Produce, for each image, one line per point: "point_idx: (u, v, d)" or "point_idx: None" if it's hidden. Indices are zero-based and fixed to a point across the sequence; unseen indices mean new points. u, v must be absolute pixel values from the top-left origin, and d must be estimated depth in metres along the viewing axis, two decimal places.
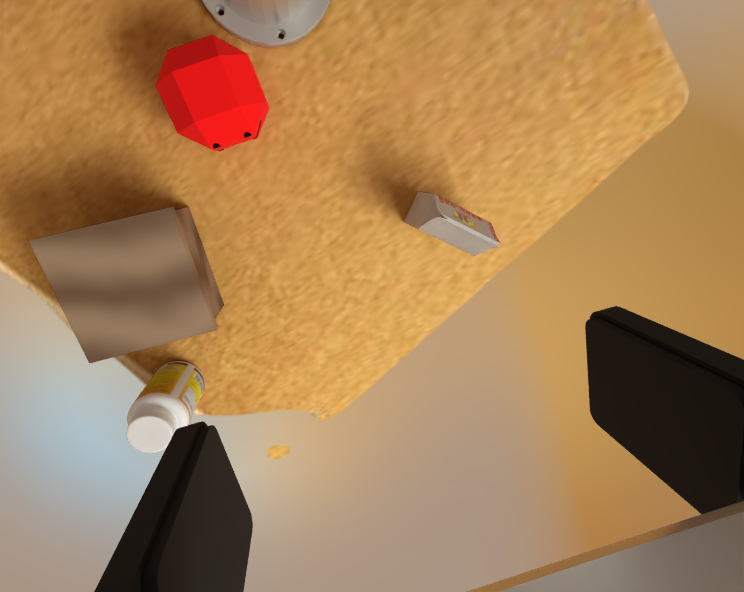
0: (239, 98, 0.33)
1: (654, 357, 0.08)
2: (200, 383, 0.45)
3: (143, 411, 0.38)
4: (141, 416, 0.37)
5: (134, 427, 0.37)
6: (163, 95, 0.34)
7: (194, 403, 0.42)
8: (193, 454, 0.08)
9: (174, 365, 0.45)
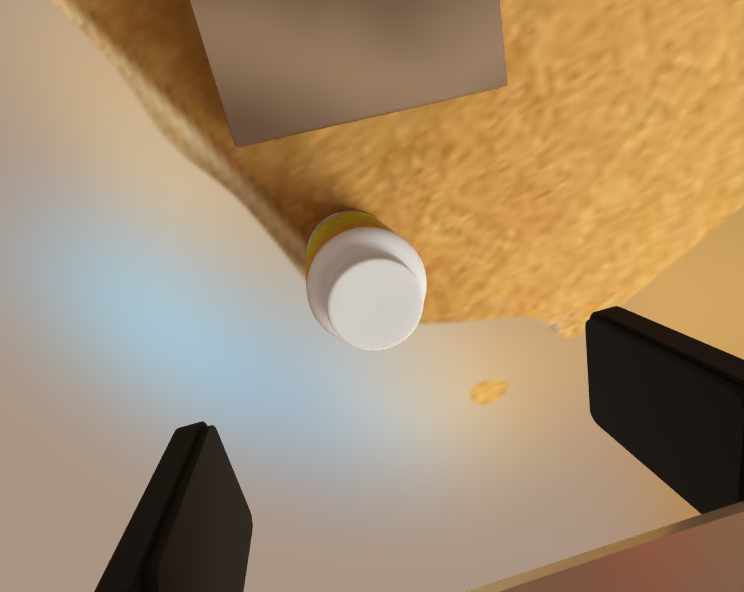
0: None
1: (654, 357, 0.08)
2: None
3: (360, 254, 0.16)
4: (365, 259, 0.16)
5: (348, 285, 0.16)
6: None
7: None
8: (193, 454, 0.08)
9: (354, 212, 0.24)
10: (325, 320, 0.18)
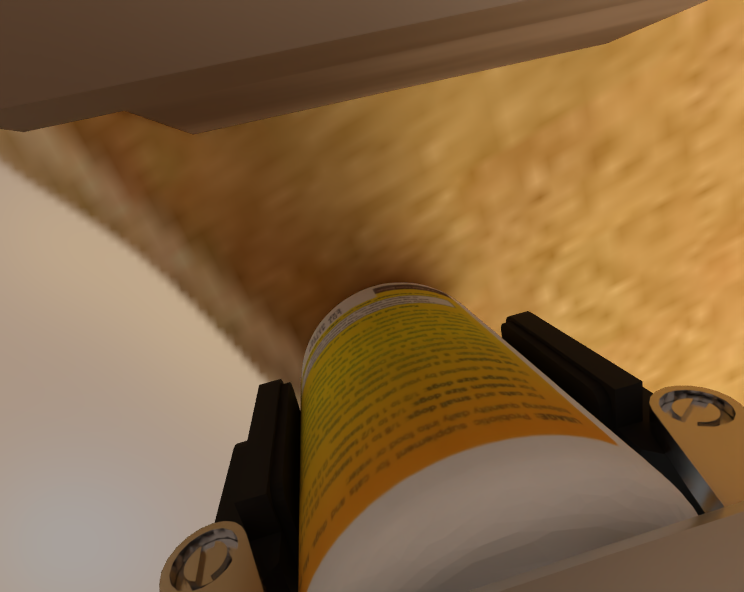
0: None
1: (544, 358, 0.09)
2: None
3: None
4: None
5: None
6: None
7: None
8: (282, 403, 0.09)
9: (412, 293, 0.10)
10: None
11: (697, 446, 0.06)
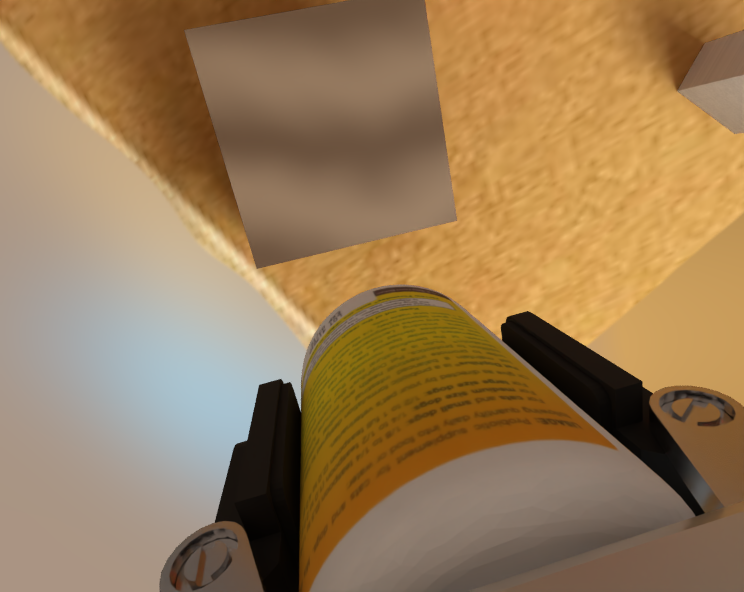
0: None
1: (544, 358, 0.09)
2: None
3: None
4: None
5: None
6: None
7: None
8: (282, 403, 0.09)
9: (412, 295, 0.10)
10: None
11: (697, 446, 0.06)
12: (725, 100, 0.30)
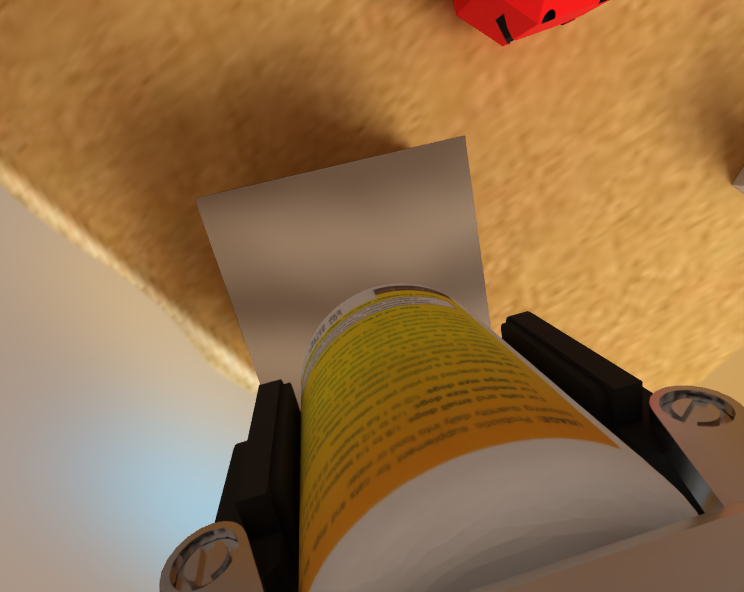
0: None
1: (544, 358, 0.09)
2: None
3: None
4: None
5: None
6: None
7: None
8: (282, 403, 0.09)
9: (412, 294, 0.10)
10: None
11: (697, 446, 0.06)
12: None
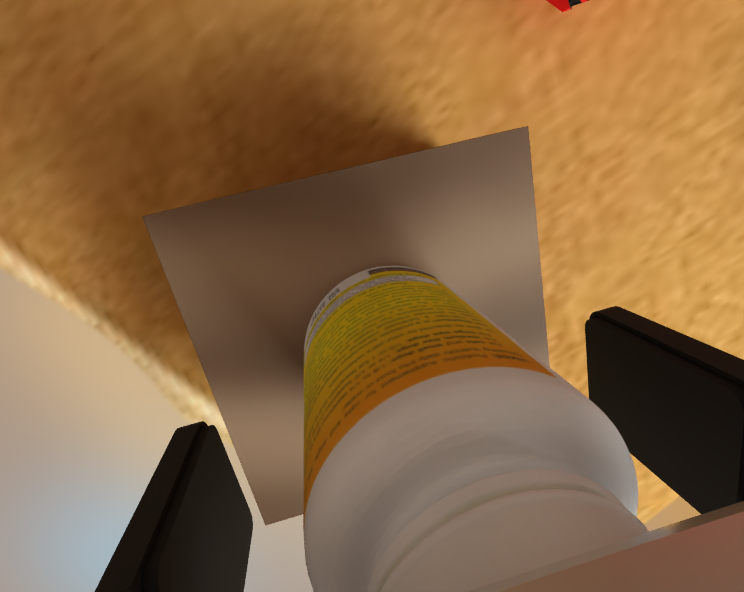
0: None
1: (654, 357, 0.08)
2: None
3: (497, 513, 0.05)
4: None
5: None
6: None
7: None
8: (193, 454, 0.08)
9: (402, 273, 0.12)
10: None
11: None
12: None
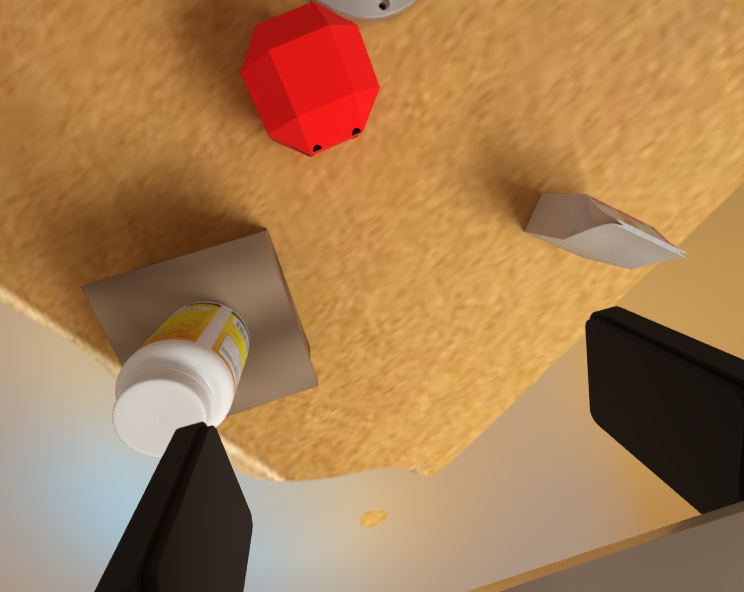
0: (353, 81, 0.25)
1: (654, 357, 0.08)
2: (244, 336, 0.26)
3: (145, 372, 0.18)
4: (141, 380, 0.18)
5: (127, 404, 0.18)
6: (251, 85, 0.25)
7: (239, 365, 0.23)
8: (193, 454, 0.08)
9: (198, 305, 0.26)
10: None
11: None
12: (558, 243, 0.35)
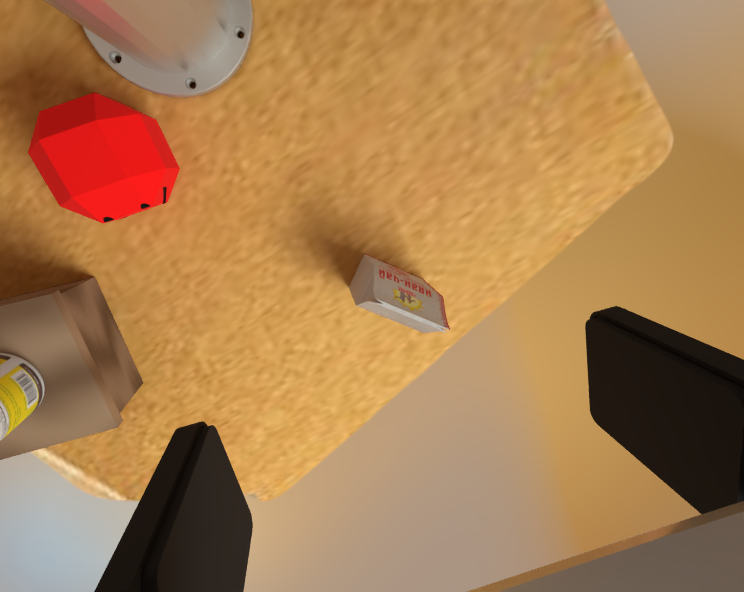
0: (126, 168, 0.28)
1: (654, 357, 0.08)
2: (28, 387, 0.29)
3: None
4: None
5: None
6: (37, 164, 0.28)
7: None
8: (193, 454, 0.08)
9: None
10: None
11: None
12: None
